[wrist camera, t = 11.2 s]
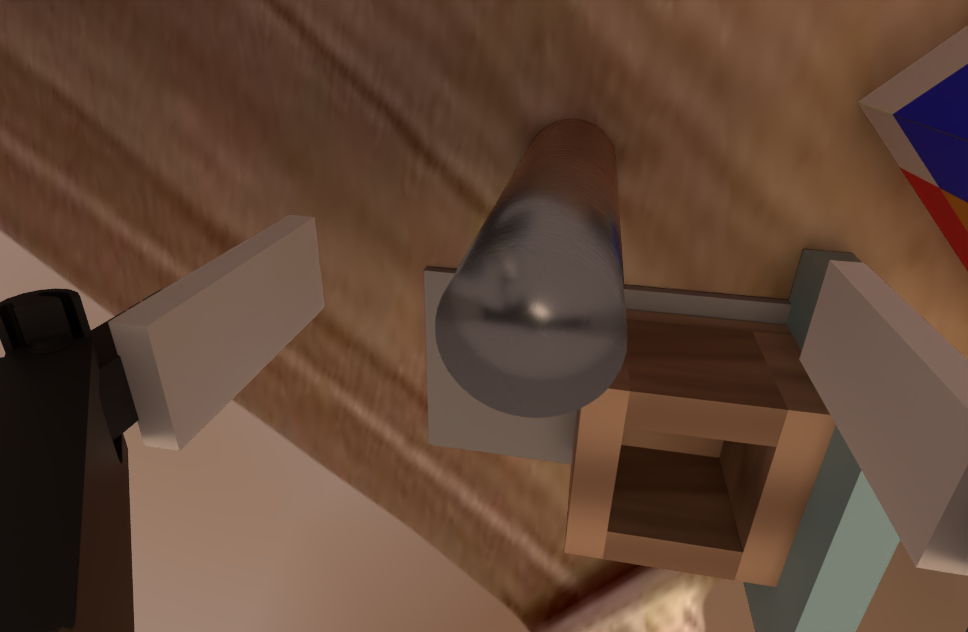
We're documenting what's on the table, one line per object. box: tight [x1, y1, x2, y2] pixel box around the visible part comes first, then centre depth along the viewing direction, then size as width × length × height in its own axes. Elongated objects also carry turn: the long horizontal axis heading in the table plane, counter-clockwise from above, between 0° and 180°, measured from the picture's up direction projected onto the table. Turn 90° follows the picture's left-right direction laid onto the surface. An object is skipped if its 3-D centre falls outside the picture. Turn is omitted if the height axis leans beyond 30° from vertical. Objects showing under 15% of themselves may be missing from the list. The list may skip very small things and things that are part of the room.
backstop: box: [424, 249, 900, 632], centre depth 26 cm, size 16×19×10 cm
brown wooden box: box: [564, 309, 836, 587], centre depth 27 cm, size 9×9×7 cm
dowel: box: [435, 119, 627, 418], centre depth 19 cm, size 4×4×16 cm
